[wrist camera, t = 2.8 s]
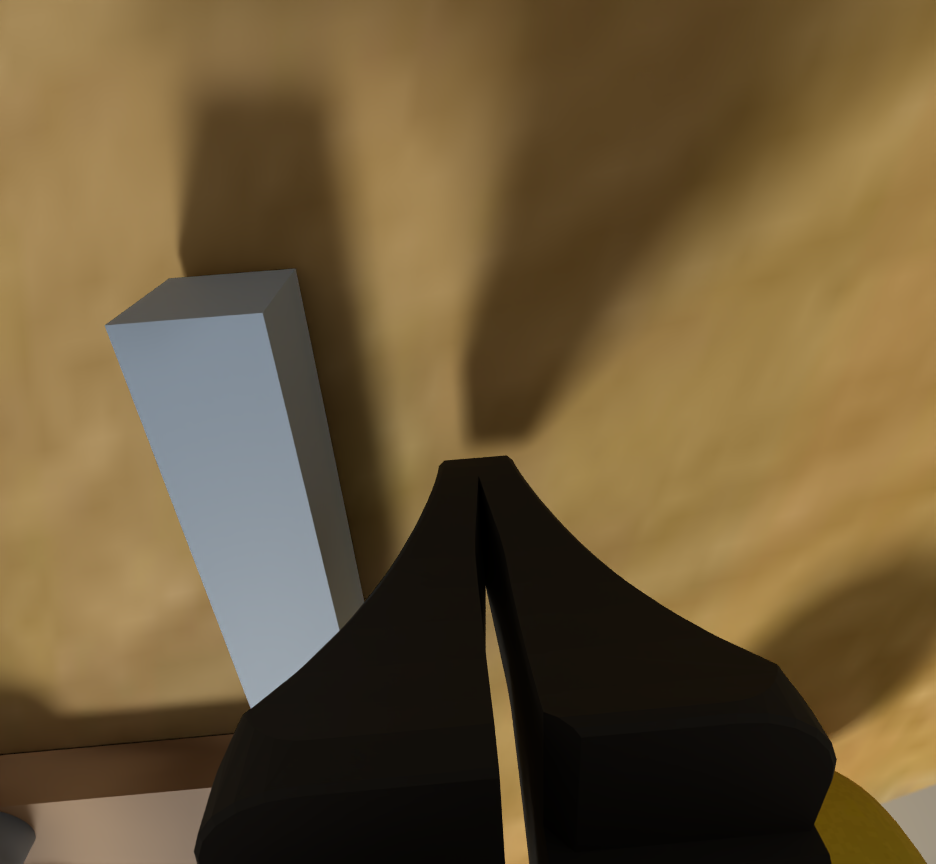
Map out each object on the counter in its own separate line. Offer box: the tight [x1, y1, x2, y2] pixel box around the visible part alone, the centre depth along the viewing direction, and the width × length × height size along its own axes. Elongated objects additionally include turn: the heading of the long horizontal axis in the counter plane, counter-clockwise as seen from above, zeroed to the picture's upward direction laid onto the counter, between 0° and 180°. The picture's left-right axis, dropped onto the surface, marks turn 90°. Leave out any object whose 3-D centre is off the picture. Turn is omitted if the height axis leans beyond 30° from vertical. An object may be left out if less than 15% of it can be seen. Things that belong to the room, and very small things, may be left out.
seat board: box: [0, 734, 234, 864], centre depth 17 cm, size 12×7×3 cm, turn 94°
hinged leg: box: [105, 269, 364, 708], centre depth 12 cm, size 11×2×2 cm, turn 4°
